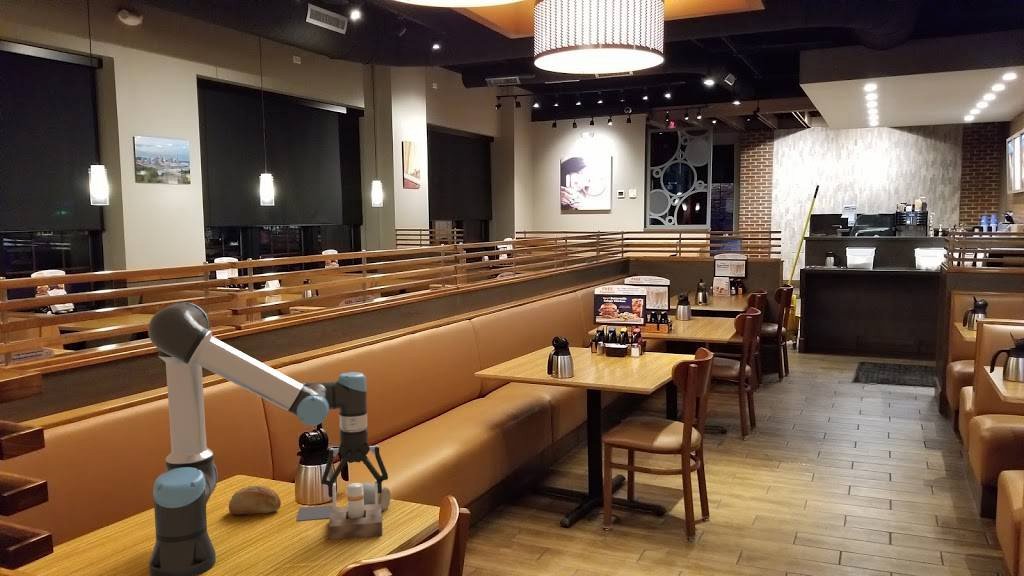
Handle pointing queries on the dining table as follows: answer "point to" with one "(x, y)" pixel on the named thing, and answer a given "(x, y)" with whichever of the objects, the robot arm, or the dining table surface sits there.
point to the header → (355, 523)
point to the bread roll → (254, 500)
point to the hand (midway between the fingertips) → (355, 506)
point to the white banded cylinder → (355, 500)
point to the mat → (314, 513)
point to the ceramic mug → (370, 495)
